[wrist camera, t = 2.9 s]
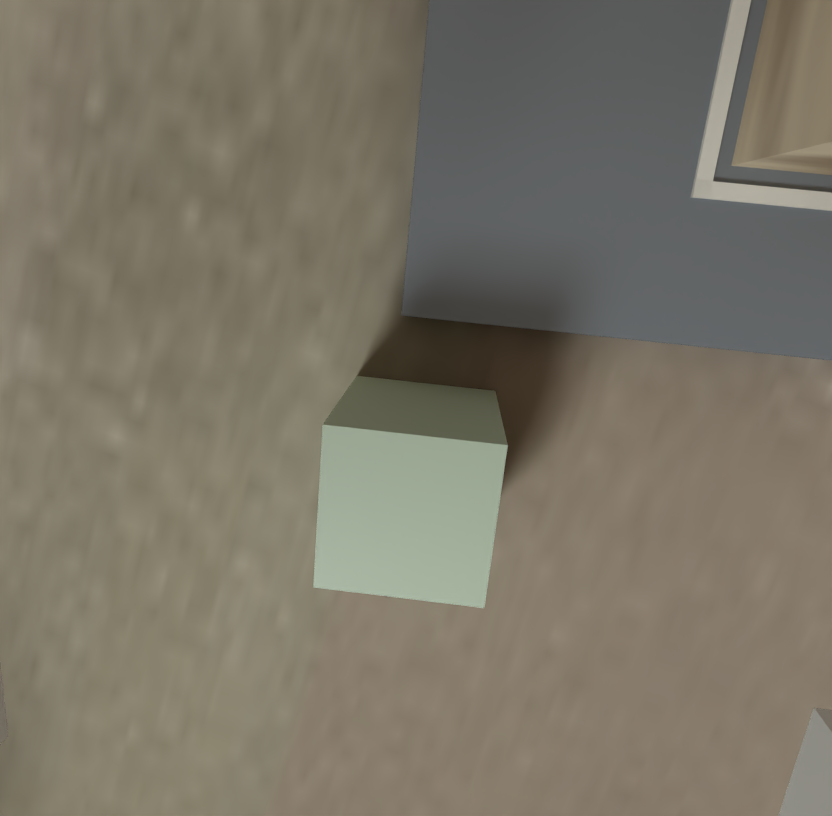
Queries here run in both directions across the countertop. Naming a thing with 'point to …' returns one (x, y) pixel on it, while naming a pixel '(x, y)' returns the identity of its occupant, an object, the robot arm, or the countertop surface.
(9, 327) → the countertop surface
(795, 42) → the maple block
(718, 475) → the countertop surface
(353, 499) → the sage block
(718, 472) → the countertop surface
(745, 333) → the board
